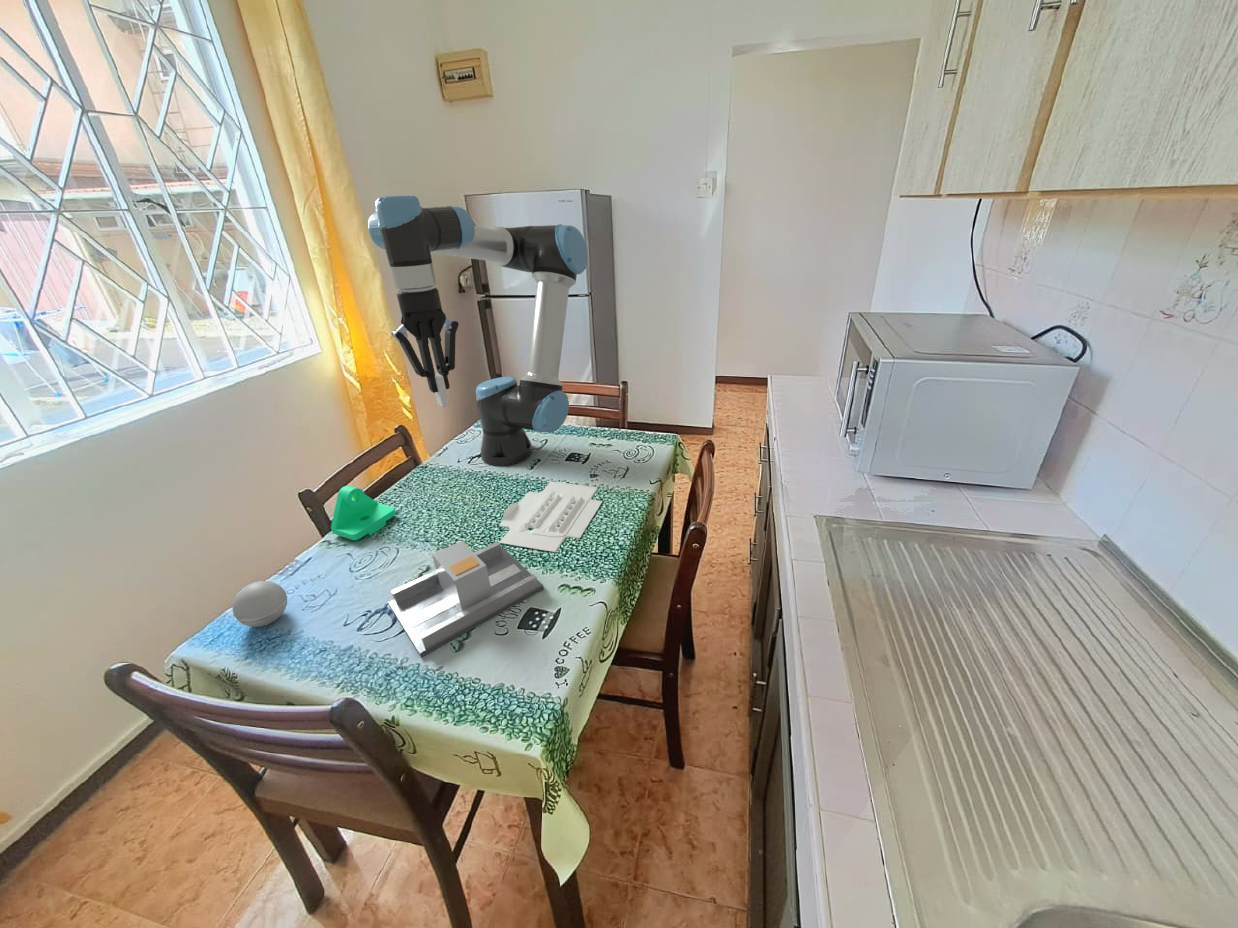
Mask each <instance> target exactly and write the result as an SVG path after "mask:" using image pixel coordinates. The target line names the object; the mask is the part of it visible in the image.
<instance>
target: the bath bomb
mask: <svg viewBox="0 0 1238 928" xmlns="http://www.w3.org/2000/svg"><path fill="white" fill-rule="evenodd" d="M287 605H288V596H287V593H286V591H285V589H284V587H282V586H281V585H280V584H278V583H276V582H274V581H269V580H260V581H259V580H258V581H254V582H250V583H249V584H248V585H245V586H244V587H243V588H241V590H240V591H238V592H237V594H236V595H235V597H234V598H233V603H232V613H233V616H234V617H235V619H236V621H238V622H240V623H241V624H242V625H245V626H246V627H253V628H257V627H265V626H267V625H270V624H272V623H274V622H276V621H277V620H278V619H279V618H280V617H281V616H282V615H283V614H284V612H285V610H286V607H287Z"/></svg>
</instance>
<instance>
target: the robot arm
mask: <svg viewBox="0 0 1238 928" xmlns="http://www.w3.org/2000/svg"><path fill="white" fill-rule="evenodd" d="M420 203H421V202H420V199H419V198H418V197H417V196H416V195H393V196H390V195H389V196H379V197H378V198H377V199H375V202H374V206H375V212H373V213H372V214H371V215H370V217H369V218H368V221H367V222H368V223H367V226H368V235H369V236H370V238H371V240H372V241H373V243H374V244H375V245H376V246H377V247H378V248H380V249H383V250H385V253H386V257H387V260H388V264H389V268H390V269H389V270H390V273H391V277H392V281H393V284H394V288H395V289H397V290H398V291H397V293H396V297H397V301H398V305H399V310H400V313H401V320H400V323H401V325H399V327H398V328H397V329H396V330H395V329H393V330H392V331H391V335H392V337H394V338H395V340H397V341H398V342H399V344H400V346H401V348H402V350H403V353H405V356H406V358H407V359H408V361H409V363H410V365H411V367H412V368H413V371H414V373H415V374H416V375H418V376H419V377H422V378H426V380H427V384H428V389H429V391H430V392H431V393H434V395H435V398H436V402H437V405H438V406H440V407H441V408H446V407H449V406H450V400H449V397H448V393H447V390H449V389H450V382H449V378H448V375H450V374H449V372H450V371H452V370H455V368H456V338H457V337H456V336H457V335H456V333H457V332H458V331H457V330H458V328H459V324H460V323H459V322H458V321H456V320H454V319H450V318H447V314H445V312H444V310H443V307H442V302H441V296H440V293H439V289H438V288H437V287H435V286H436V285H437V278H436V274H435V269H434V264H433V260H432V255H431V254H433V255H441V256H448V257H456V258H464V259H472V260H478V261H480V260H481V261H488V262H490V264H492V265H493V266H496V267H502V268H506V269H507V268H508V269H512V270H516V271H521V272H525V273H531V275H532V278H533V279H534V281H535V282H536V290H535V298H534V299H535V300H534V308H533V313H532V314H533V315H532V316H533V317H532V323H531V331H530V332H531V334H530V339H529V340H530V342H529V348H528V349H529V350H528V357H527V366H526V367H527V368H526V373H525V374H524V375H523V376H521V378H519V384H518V381H517V379H516V378H515V377H514V376H501V377H496V378H492V379H489V380H488V379H487V380H485V381H483V382H480V383H479V384H478V385H477V386H476V389H475V395H476V400H475V401H476V403H477V409H478V412H479V418H480V424H481V428H482V440H481V446H480V456H481V460H482V461H483V463H485V464H487V465H491V466H499V467H501V466H511V465H514V464H515V465H516V464H518V463H521V462H523V461H525V460H527V459H529V458H530V457H531V456H532V455H533V445H532V442H531V441H530V439H529V437H528V435H527V433H526V431H525V430H531V431H535V432H536V433H554V432H556V431H557V430H559V429H560V428H561V427H562V426H563V424H564V423H565V421H566V419H567V417H568V413H569V408H570V401H569V396H568V395H567V394H566V393H565V392H564V391H563V386H564V385H563V383H562V382H561V381H560V379H559V376H560V375H559V373H560V367H561V366H560V364H561V359H562V358H561V357H562V349H563V342H564V335H565V334H564V333H565V326H566V324H565V323H566V317H567V308H568V301H569V293H570V292H569V291H570V289H571V288H572V287H574V285H576V281H577V275H581V274H583V273H584V272H585V270H586V269H587V265H588V256H589V255H588V248H587V244H586V241H585V237H584V235H583V234H582V232H581V231H580V230H579V229H578V228H577V227H576V226H573V225H570V224H569V225H568V224H567V225H566V224H565V225H564V224H556V225H554V224H553V225H552V224H551V225H528V226H527V225H526V226H518V227H516V226H515V227H504V226H493V227H492V228H489V227H488V228H487V227H482V226H478V225H474V221H473V218H472V216H471V215H470V213H469V212H468V211H467V210H466V209H464V208H463V207H460V206H453V205H447V206H434V207H422V205H421V204H420ZM443 328H444V329H445V330H444V350H443V345H442V338H441V332H442V330H443ZM407 331H408V332H409V334H411V335H412V336H413V337H414V338H415V341H416V343H417V347H418V349H419V355H420V359H419V357H418V355H417V354H416V351H415V349H414V347H413V345H412V343H411V342H410V340H409V339H408V338H409V337H408V336H409V334H408V333H407ZM429 343H430V345H429ZM430 346H431V350H430ZM431 351H432V354H433V358H432V355H431ZM433 359H434V362H433ZM421 362H422V363H421ZM434 363H435V368H436V371H437V372H438V373H435V368H434Z"/></svg>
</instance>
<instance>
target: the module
mask: <svg viewBox="0 0 1238 928" xmlns="http://www.w3.org/2000/svg"><path fill="white" fill-rule="evenodd" d="M474 552H475V551H473V550H472V549H471V548H470V547H469V546H468V544H466V543H465V542H464V541H463V540H461V541H459V542H456V543H454V544H452V545H450V546H447V547H445V548H443V549H441V550H438V551H436V552H434V553H431V555H432V561H433V563H434V567H435V570H436V571H437V575H438V578H439V582H440V586H441V588H442V589H443V590H444V592H445V593H446V594H447V596H448V597H449V598H450V599H451V601H452V602H453V603H454V604H455V606H456V607H457V608H458V609H459V611H460V612H463V611H464V610H466V609H468V608H470V607H472V606H474V605H476V604H478V603H480V602H481V601H483V600H485V599H487V598H489V597H491V596H493V595H492V590H491V586H490V581H489V576H488V571H487V567H486V565H485V564H484V562H483V561H482V560H481V559H480V558H479V557H478V556H477V555H476V554H475V553H474Z"/></svg>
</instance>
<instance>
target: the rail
mask: <svg viewBox="0 0 1238 928" xmlns="http://www.w3.org/2000/svg"><path fill="white" fill-rule="evenodd" d="M499 542H500V541H495V542H494V543H491V544H489V545H487V546H484V547H483V548H480V549H478V550H477V551H473V552H474V553H475V554H476V555H477V556H478V557H479V558H480V559H481V560H482V561H483V562H484V564H485V565H486V567H487V571H488V576H489V581H490V586H491V590H492V595H493V596H491V597H489V598H487V599H485V600H483V601H481V602H480V603H478V604H476V605H474V606H472V607H470V608H468V609H466V610H464V611H463V612H460V611H459V609H458V608H457V607H456V606H455V604H454V603H453V602H452V601H451V599H450V598H449V597H448V596H447V594H446V593H445V592H444V590H443V589H442V588H441V586H440V582H439V578H438V575H437V571H436V569H435V570H433V571H430V572H429V573H427V574H424V575H421V576H420V577H418V578H416V579H414V580H411V581H410V582H408V583H404V584H403V585H401V586H399V587H396V588H394V589H392V590H390V591H391V595H392V597H393V599H392V600H390V601H388V605H389V607H390V608H391V611H392V612H393V614H394V616H395V617H396V619H397V620H398V622H399V624H400V626H401V627H402V629H403V630H404V632H405V633H406V636H407V637H408V638H409V641H410V642H411V644H412V645H413V647H414V649H415V650H416V652H417V653H418V655H419V657H420V658H423V657H425V656H427V655H428V654H430V653H432V652H434V651H436V650H437V649H438V650H439V648H441V647H443V646H445V645H446V644H448V643H450V642H451V641H453V640H455V639H457V638H459V637H461V636H463V635H464V634H466V633H468V632H470V631H471V630H474V629H475V628H477V627H479V626H481V625H482V624H484V623H486V622H488V621H490V620H492V619H493V618H495V617H497V616H499V615H500V614H502V613H504V612H506V611H507V610H509V609H511V608H513V607H515V606H517V605H519V604H520V603H522V602H524V601H525V600H527V599H529V598H530V597H533V596H534V595H536V594H538V593H540V592H541V591H543V590H544V589H545V588H544V584H543V583H542V582H540V581H539V579H537V578H538V577H537V576H536V575H535V574H533V573H531V572H530V571H528V569H526V568H525V567H524V566H523V565H522V564H521V563H520V562H519V561H518V560H517V559H516V558H514V557H513V556H512V555H511V554H510V553H509V552H508V551H507V550H506V549H505V548H504V547H502V546H501V544H502V543H499Z"/></svg>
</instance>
